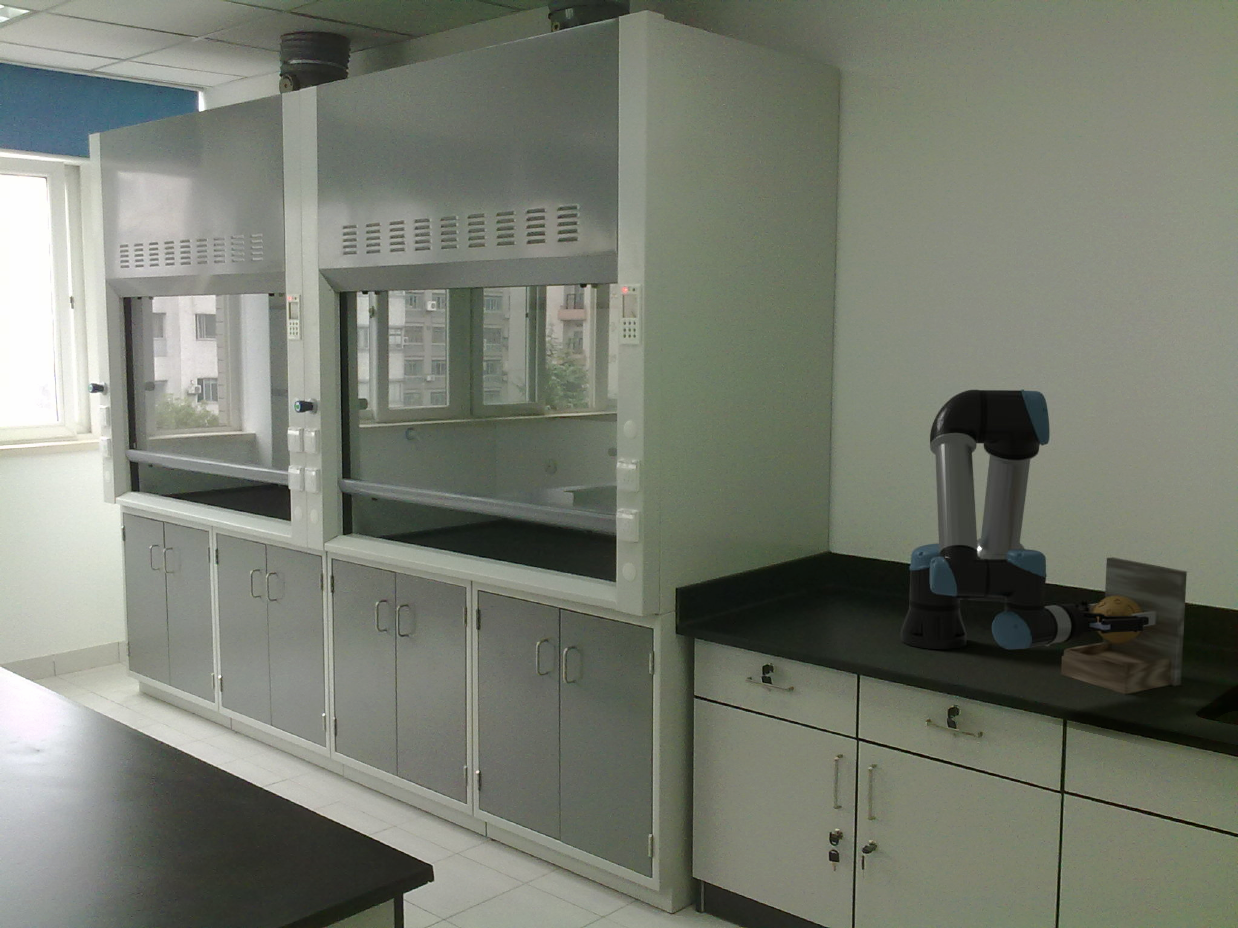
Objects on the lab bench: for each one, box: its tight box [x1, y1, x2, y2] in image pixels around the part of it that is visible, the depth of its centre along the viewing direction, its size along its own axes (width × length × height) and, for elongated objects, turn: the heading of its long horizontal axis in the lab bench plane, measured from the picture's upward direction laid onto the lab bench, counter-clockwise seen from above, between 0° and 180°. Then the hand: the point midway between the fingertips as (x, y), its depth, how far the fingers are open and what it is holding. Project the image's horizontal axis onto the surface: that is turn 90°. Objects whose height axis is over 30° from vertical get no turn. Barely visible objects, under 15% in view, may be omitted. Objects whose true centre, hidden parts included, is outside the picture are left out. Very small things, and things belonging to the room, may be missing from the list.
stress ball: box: [1092, 596, 1142, 644], centre depth 244 cm, size 10×10×10 cm
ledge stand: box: [1060, 556, 1188, 695], centre depth 245 cm, size 16×18×24 cm
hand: (1131, 612), depth 246 cm, fingers closed on stress ball, 10 cm apart
